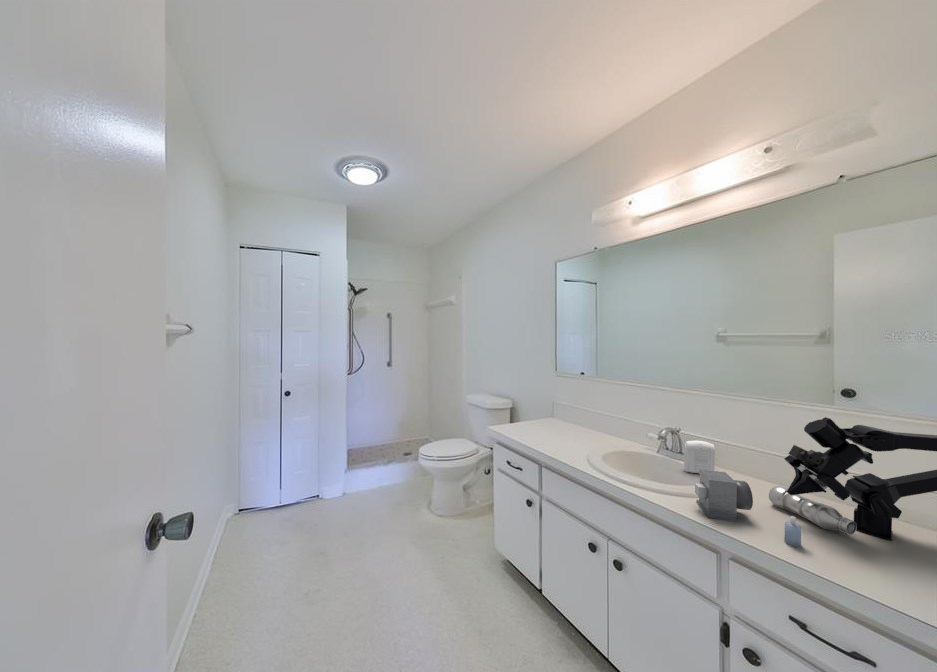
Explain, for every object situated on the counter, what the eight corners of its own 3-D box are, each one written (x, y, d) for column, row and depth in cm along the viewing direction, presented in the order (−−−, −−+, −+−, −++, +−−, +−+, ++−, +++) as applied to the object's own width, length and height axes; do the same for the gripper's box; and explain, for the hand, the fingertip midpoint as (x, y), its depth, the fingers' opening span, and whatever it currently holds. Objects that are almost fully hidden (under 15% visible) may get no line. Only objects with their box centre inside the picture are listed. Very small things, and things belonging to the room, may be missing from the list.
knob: (740, 502, 109) (740, 476, 109) (753, 515, 101) (753, 488, 101) (692, 496, 112) (692, 471, 112) (701, 508, 105) (701, 482, 105)
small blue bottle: (802, 544, 91) (802, 517, 91) (799, 549, 89) (800, 521, 89) (785, 538, 93) (786, 512, 93) (783, 543, 91) (783, 516, 91)
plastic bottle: (785, 494, 113) (865, 528, 94) (770, 508, 112) (848, 545, 93) (776, 479, 113) (854, 510, 93) (761, 492, 112) (837, 526, 92)
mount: (725, 505, 111) (725, 471, 111) (739, 522, 101) (740, 484, 101) (696, 502, 113) (696, 468, 113) (708, 517, 103) (708, 481, 103)
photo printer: (712, 471, 137) (712, 440, 137) (716, 476, 133) (716, 444, 133) (682, 468, 140) (682, 438, 140) (685, 472, 136) (686, 441, 136)
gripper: (792, 429, 109) (750, 460, 113) (836, 448, 91) (784, 485, 95) (823, 456, 107) (779, 487, 110) (874, 482, 89) (819, 518, 93)
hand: (788, 493), depth 102 cm, fingers closed
